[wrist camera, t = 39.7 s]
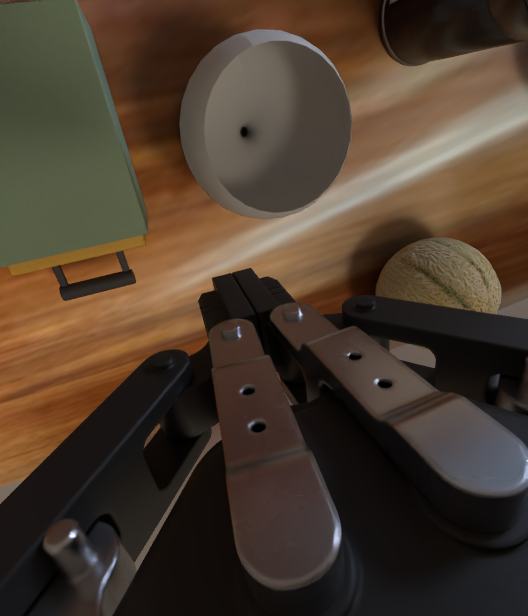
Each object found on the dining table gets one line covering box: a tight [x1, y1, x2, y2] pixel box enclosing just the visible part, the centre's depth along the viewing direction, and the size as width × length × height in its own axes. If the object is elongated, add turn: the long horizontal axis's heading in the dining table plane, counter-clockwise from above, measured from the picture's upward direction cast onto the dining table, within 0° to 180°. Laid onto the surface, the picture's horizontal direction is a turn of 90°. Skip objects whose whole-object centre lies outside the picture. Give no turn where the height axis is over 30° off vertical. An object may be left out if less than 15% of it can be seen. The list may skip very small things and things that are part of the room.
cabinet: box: [0, 0, 148, 268], centre depth 32 cm, size 17×13×9 cm
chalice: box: [179, 29, 352, 219], centre depth 34 cm, size 14×14×15 cm
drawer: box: [7, 235, 146, 301], centre depth 34 cm, size 20×12×7 cm, turn 10°
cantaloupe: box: [376, 237, 501, 350], centre depth 49 cm, size 15×15×15 cm
